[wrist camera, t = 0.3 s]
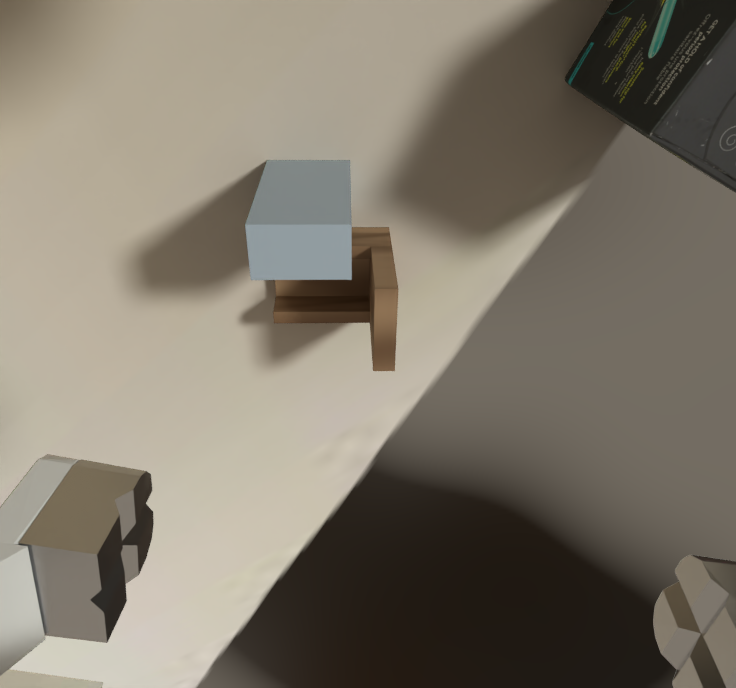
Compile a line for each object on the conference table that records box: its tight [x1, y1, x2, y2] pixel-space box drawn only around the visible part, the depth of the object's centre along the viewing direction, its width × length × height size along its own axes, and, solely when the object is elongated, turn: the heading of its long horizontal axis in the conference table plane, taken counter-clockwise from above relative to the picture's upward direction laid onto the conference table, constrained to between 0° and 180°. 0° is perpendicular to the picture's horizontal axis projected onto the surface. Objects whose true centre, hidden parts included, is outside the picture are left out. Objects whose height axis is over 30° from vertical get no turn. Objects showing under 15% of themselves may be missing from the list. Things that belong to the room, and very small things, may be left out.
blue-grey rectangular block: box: [245, 160, 352, 280], centre depth 41 cm, size 4×6×12 cm, turn 89°
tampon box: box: [565, 0, 736, 192], centre depth 35 cm, size 11×9×15 cm
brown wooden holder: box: [273, 227, 398, 371], centre depth 45 cm, size 6×9×10 cm
